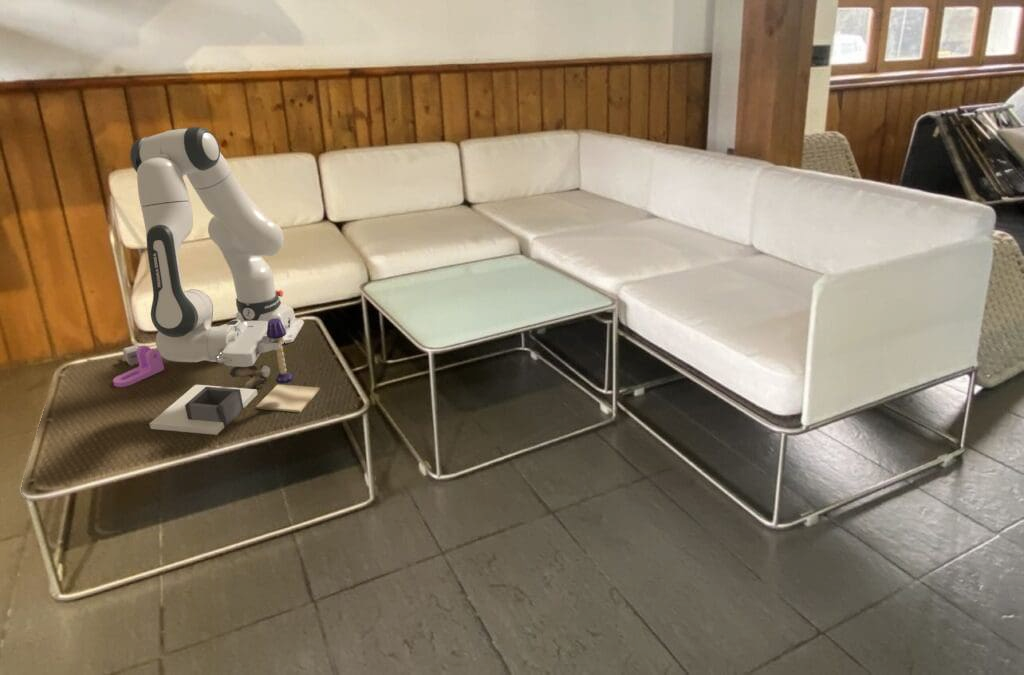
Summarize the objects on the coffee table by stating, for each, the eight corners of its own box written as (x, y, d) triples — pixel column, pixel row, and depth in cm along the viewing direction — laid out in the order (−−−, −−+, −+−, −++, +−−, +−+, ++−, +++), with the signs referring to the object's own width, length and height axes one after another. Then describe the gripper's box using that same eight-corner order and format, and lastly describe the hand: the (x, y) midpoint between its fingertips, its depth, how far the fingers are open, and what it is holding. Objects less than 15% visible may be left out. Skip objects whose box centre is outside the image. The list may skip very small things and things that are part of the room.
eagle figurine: (254, 370, 207) (225, 377, 200) (263, 353, 203) (233, 360, 196) (268, 391, 205) (240, 399, 198) (277, 374, 201) (248, 381, 194)
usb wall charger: (129, 366, 214) (126, 353, 212) (123, 358, 218) (119, 345, 217) (144, 362, 216) (141, 349, 214) (137, 354, 221) (134, 341, 219)
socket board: (196, 389, 200) (192, 371, 198) (257, 394, 197) (254, 375, 195) (150, 428, 182) (145, 409, 180) (216, 434, 179) (212, 415, 177)
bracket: (152, 365, 214) (147, 343, 211) (164, 369, 211) (159, 347, 208) (109, 384, 204) (103, 361, 201) (121, 389, 201) (115, 366, 198)
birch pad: (277, 386, 201) (277, 384, 201) (319, 389, 199) (319, 387, 198) (256, 408, 190) (255, 406, 190) (300, 412, 188) (299, 410, 188)
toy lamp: (287, 385, 189) (278, 324, 182) (270, 383, 190) (261, 322, 183) (296, 377, 193) (288, 317, 187) (279, 375, 194) (270, 315, 188)
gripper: (209, 350, 176) (268, 348, 177) (235, 316, 195) (289, 315, 195) (214, 374, 179) (272, 372, 179) (239, 338, 197) (292, 337, 198)
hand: (281, 342), depth 187 cm, fingers closed on toy lamp
